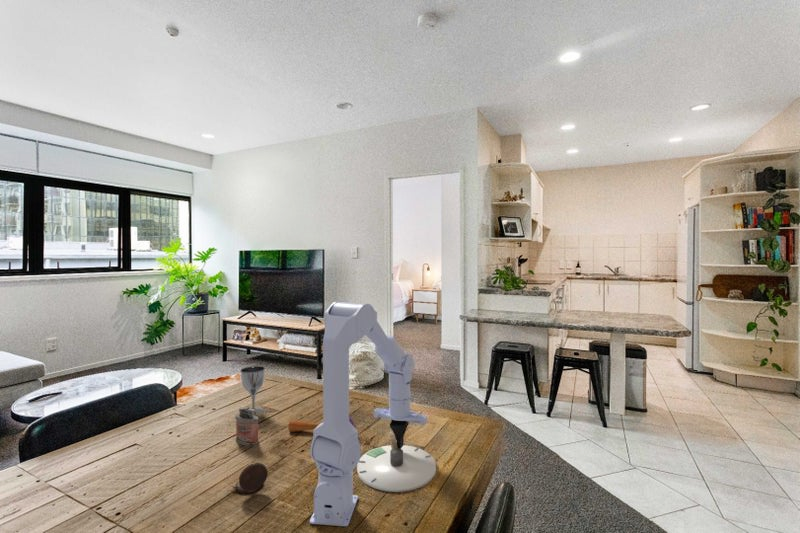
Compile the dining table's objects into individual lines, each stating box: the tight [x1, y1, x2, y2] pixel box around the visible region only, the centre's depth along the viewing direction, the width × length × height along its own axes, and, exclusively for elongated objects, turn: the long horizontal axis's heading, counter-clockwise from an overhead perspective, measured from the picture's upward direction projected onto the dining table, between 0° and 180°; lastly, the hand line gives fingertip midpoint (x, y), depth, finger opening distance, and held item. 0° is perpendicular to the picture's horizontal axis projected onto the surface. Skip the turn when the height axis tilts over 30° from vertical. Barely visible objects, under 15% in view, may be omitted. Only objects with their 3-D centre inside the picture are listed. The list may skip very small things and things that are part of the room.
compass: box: [226, 462, 269, 494], centre depth 89 cm, size 8×8×7 cm
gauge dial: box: [356, 444, 437, 493], centre depth 98 cm, size 20×20×1 cm
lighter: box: [234, 406, 260, 447], centre depth 112 cm, size 8×3×10 cm, turn 62°
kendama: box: [288, 416, 355, 433], centre depth 118 cm, size 6×6×20 cm
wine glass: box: [240, 365, 266, 416], centre depth 134 cm, size 8×8×15 cm
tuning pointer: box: [390, 434, 403, 466], centre depth 102 cm, size 11×3×3 cm, turn 8°
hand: (400, 446), depth 104 cm, fingers closed
